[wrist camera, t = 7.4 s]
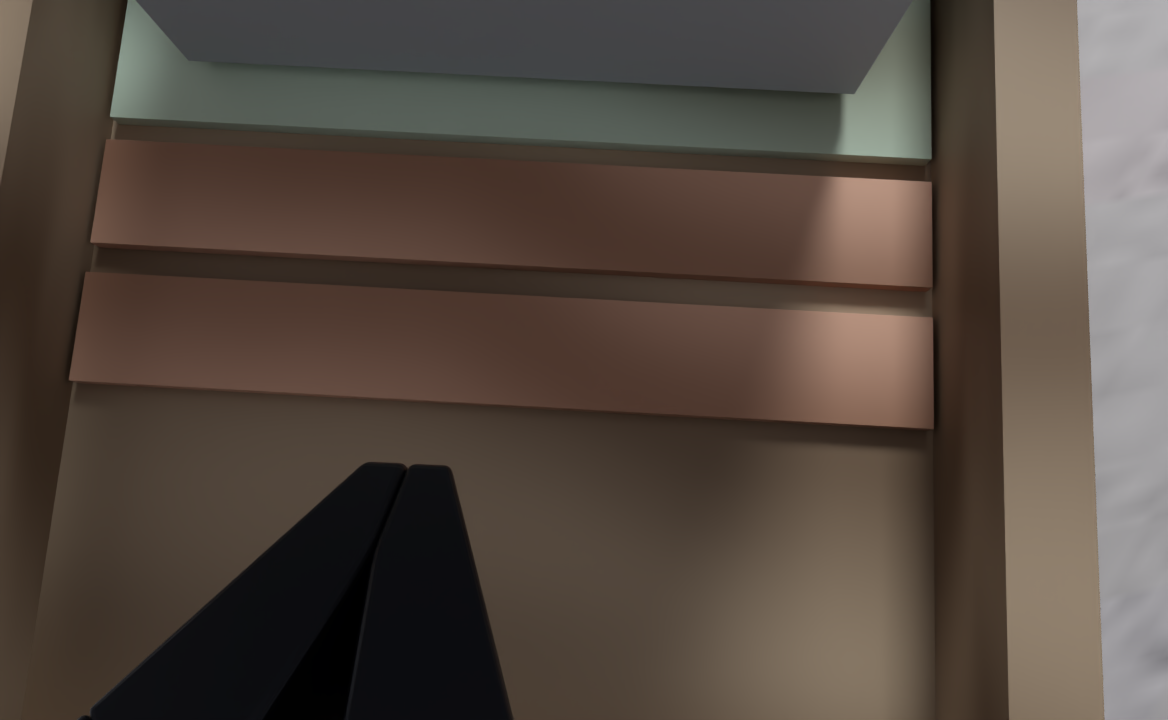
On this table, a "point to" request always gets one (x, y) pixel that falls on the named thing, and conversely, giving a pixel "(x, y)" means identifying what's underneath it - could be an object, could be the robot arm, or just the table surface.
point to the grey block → (550, 38)
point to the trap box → (565, 362)
